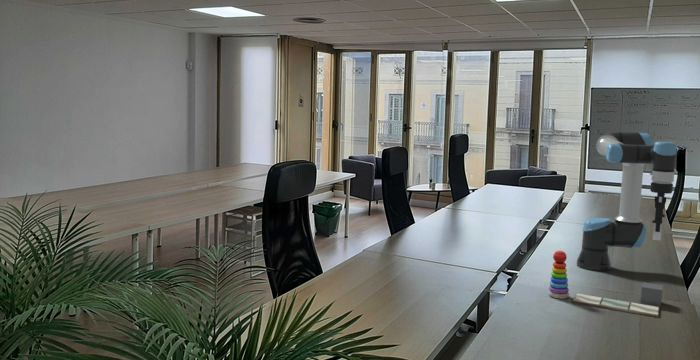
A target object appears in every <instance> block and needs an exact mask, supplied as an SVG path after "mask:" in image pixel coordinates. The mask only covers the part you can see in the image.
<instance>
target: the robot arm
mask: <svg viewBox="0 0 700 360" xmlns="http://www.w3.org/2000/svg"><path fill="white" fill-rule="evenodd" d="M594 146H595V150H596V152H597V153H598V154H600V155H601V156H603V157H606V161H607V162H609V163H613V164H622V174H621V175H622V176H621V186H620V187H621V188H620V199H619V200H620V201H619V210H618V215H617V216H615V218H614V221H611V219H610V218H606V217H593V218H592V217H591V218H588V219H586V220H585V221H584V222H583V227H582V239H581V240H582V243H581V249H580V250H581V251H580V252H579V254H578V257H577V260H576V266H577V267H578V268H581V269H583V270H588V271H596V272H602V271H603V272H605V271H609V270H611V269H612V262H611V259H610V256H609V255H610V254H609V247H612V248H613V247H614V248H624V249H625V248H626V249H639V248H641V247H642V246H643V244H644V242H645V239H646V236H647V235H646V234H647V227H646V224H645V223H643V219H642V218H640V209H641V199H642V190H643V188H642V187H643V175H644V166H645V165H652V169H651V170H652V171H651V172H650V173H649V175H650V176H651V182H650V189H649V191H650V192H651V193H656V194H657V195H656V196H654V209H655V213H654V214H655V216H654V220H652V221H651V223H653V229H652V230H653V231H652V240H653V241H659V242H660V241H662V230H663V221H664V219H663V218H665V216H666V214H664V209H666V203H667V197H665V195H666V194H667V195H668V194H672V193H673V189H674V188H673V187H674V184H673V183H674V181H675V180H674V179H675V167H676V158H677V157H676V156H677V153H678V152H677V143H676V142H674V141H655V142H654V144H653V139H652V137H651V135H650V134H649V133H645V132H628V131H627V132H624V131H623V132H622V131H621V132H619V131H612V132H606V133H605V134H602V135H600V136H599V137H598V138H597V139H596V142H595V145H594Z"/></svg>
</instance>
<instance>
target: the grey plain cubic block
mask: <svg viewBox="0 0 700 360" xmlns="http://www.w3.org/2000/svg"><path fill="white" fill-rule="evenodd" d="M640 293H641V295H640V303H639V304H646V305H652V306H658V307H659V308H661V307H662V298H663V297H662V295H663V284H656V283H649V282H642V284H641V291H640Z"/></svg>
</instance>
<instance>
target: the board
mask: <svg viewBox="0 0 700 360" xmlns="http://www.w3.org/2000/svg"><path fill="white" fill-rule="evenodd" d="M571 301H572V302H571V303H572V304H578V305H584V306H589V307H593V308H600V309H607V310H612V311H618V312H623V313H629V314H634V313H635V315H640V314H641V316H646V315H647V316H648V317H653V318H657V319H659V318H660V307H656V306H650V305H644V304H640V303H636V302H632V301H631V302H630V301H624V300H618V299H614V298H607V297H600V296H594V295H588V294H582V293H575V295H574V297H573V299H572V300H571Z"/></svg>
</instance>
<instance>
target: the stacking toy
mask: <svg viewBox="0 0 700 360" xmlns="http://www.w3.org/2000/svg"><path fill="white" fill-rule="evenodd" d="M552 255H553V257H552V258H553V260H554V262H553V263H552V272H551V274H550V275H551V277H550V282H549V287H548V293H547V294H548V296H550V297H551V298H554V299H559V300H560V299H561V300H563V299H565V300H566V299H567V298H569V297H570V293H569V291H570V290H569V283H568V281H569V280H568V274H567V272H568V270H567V268H566V267H567V263H566V261H567V257H568V256H567V253H566V252H565V251H563V250H556V251H555V252H554V253H553V254H552Z"/></svg>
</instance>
